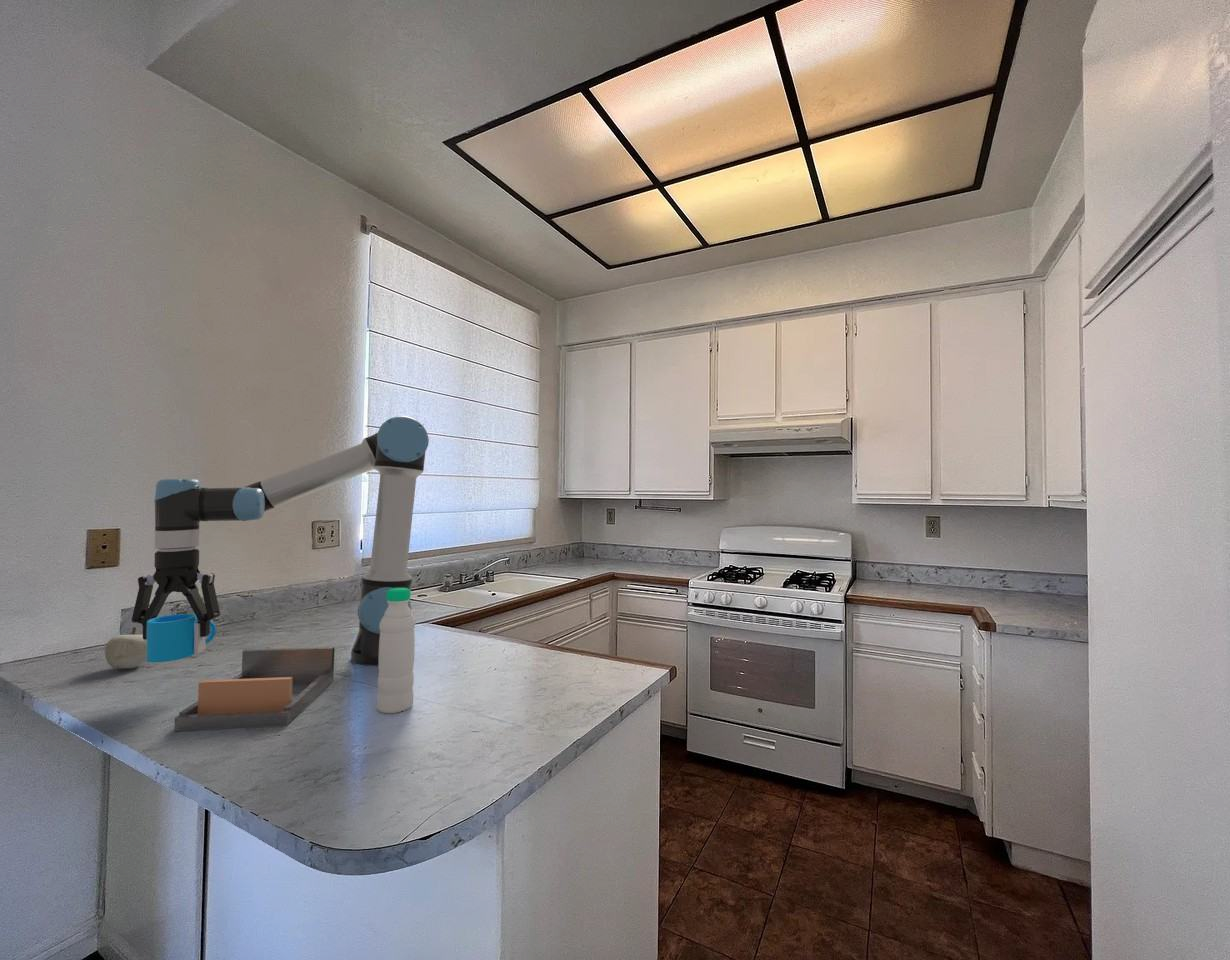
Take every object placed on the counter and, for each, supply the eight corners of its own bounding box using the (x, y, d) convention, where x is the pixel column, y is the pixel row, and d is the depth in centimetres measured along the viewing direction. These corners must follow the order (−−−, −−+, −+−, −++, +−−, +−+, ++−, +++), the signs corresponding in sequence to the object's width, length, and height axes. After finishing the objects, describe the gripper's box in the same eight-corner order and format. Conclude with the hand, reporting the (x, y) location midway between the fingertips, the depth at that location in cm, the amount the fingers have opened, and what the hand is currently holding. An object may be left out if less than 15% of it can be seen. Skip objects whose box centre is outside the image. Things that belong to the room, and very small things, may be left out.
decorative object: (102, 677, 124) (104, 635, 125) (105, 667, 131) (107, 627, 131) (152, 669, 130) (153, 629, 130) (152, 660, 137) (154, 622, 137)
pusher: (297, 706, 109) (298, 672, 109) (288, 715, 105) (289, 679, 105) (210, 710, 106) (211, 675, 106) (197, 719, 102) (198, 682, 102)
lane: (333, 680, 125) (334, 646, 125) (287, 725, 101) (288, 683, 101) (243, 684, 121) (245, 649, 122) (174, 731, 97) (176, 688, 98)
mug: (151, 665, 107) (152, 625, 107) (141, 657, 112) (142, 619, 112) (222, 650, 117) (222, 613, 117) (210, 643, 121) (210, 608, 122)
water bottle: (377, 717, 105) (381, 593, 106) (375, 704, 111) (379, 587, 112) (414, 711, 108) (418, 590, 109) (411, 699, 115) (414, 585, 115)
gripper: (240, 546, 120) (239, 644, 119) (134, 548, 116) (134, 650, 116) (221, 549, 112) (220, 655, 112) (108, 552, 109) (107, 661, 108)
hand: (176, 652), depth 114 cm, fingers closed on mug, 8 cm apart
